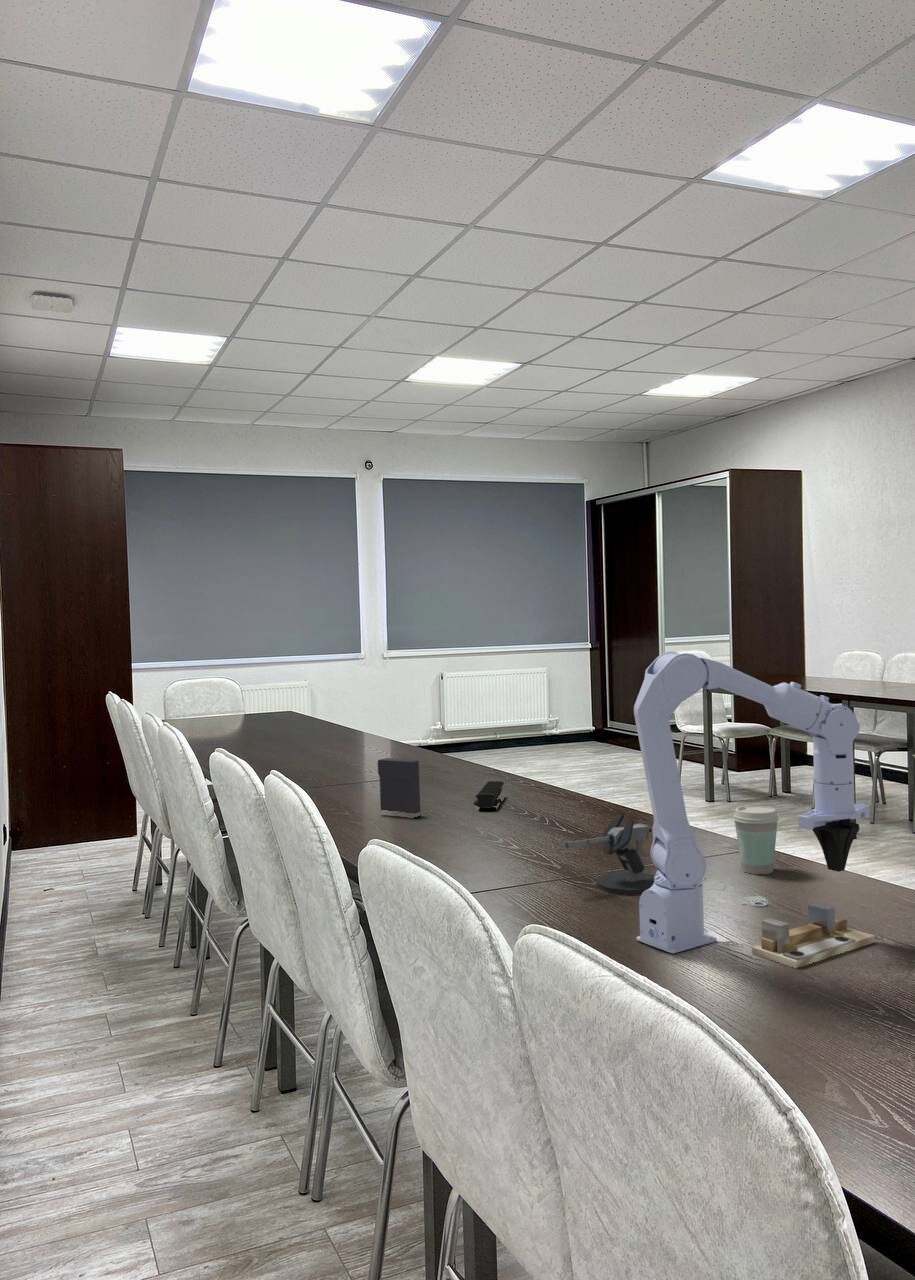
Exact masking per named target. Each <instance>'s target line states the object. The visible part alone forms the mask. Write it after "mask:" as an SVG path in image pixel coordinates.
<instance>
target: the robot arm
mask: <svg viewBox="0 0 915 1280" xmlns="http://www.w3.org/2000/svg"><path fill="white" fill-rule="evenodd" d="M643 679H644V680H643V681H642V685H641V687H640V689H639V693H638V694H637V697H636V700H635V703H634V705H633V716H634V721H635V727H636V731H637V736H638V742H639V748H640V751H641V752H640V753H641V757H642V763H643V768H644V774H645V779H646V783H647V784H646V785H647V788H648V789H647V790H648V795H649V800H650V801H649V802H650V806H651V811H652V816H653V823H654V824H653V823H652V838H653V839H652V843H651V847H650V858H651V860H652V863H653V864H654V866H655V867H656V868H657V870H656V873H655V875H654V876H655V877H654V884H653V885H652V887H651V888H649V889H647V890H645V891H644V892H643V893H642V894H641V895H640V897H639V902H638V906H639V907H638V910H639V911H638V912H639V914H638V916H639V935H638V936H636V941H638V942H639V943H640V942H641V943H644V944H646V945H649V946H651V947H654V948H657V949H659V950H663V951H665V952H668V953H670V954H677V953H680V952H683V951H687V950H691V949H694V948H697V947H702V946H705V945H708V944H711V943H715V942H717V940H718V938H717V937H716V936H714V935H713V936H712V935H710V934H707V933H705V923H704V922H705V921H704V918H705V917H704V916H705V915H704V889H703V886H704V885H703V884H704V883H703V878H704V877H705V874H706V872H707V860H706V858H705V856H704V854H703V853H702V851H701V850H700V849H699V847H698V845H697V842H696V838H695V837H696V836H695V835H694V831H693V830H692V827H691V824H690V823H689V820H688V814H687V810H686V805H685V799H684V798H685V797H684V794H683V788H682V783H681V778H680V772H679V768H678V767H679V766H678V762H677V756H676V752H675V747H674V741H673V736H672V730H671V725H670V717H671V716H672V715H673V713H674V712H675V711H676V710H677V709H678V707H679V706H680V705H681V703H683V702H684V701H686V700H687V699H689V698H692V696H694V695H696V694H697V693H698V692H699V691H701V689H704V690H713V689H719V688H720V689H722V690H725V691H728V692H730V693H733V694H734V695H735V694H736V695H739V696H740V697H743V698H746V699H748V700H751V701H754V702H756V703H759V704H760V705H763V706H764V708H765V710H766V713H767V715H768V716H769V718H772V719H775V720H777V721H779V722H783V723H784V724H787V725H789V726H792V727H794V728H796V729H798V730H800V731H803V732H807V733H809V734H810V736H811V737H812V740H813V741H812V743H813V747H812V748H813V750H812V752H813V756H812V757H813V786H814V787H813V791H814V808H813V809H810V810H809V811H807V812H805V813H803V814H799V815H798V828H799V829H803V830H808V831H812V832H813V833H814V835H815V836H816V839H817V840H818V842H819V845H820V847H821V850H822V852H823V853H822V854H823V856H824V859H825V863H826V867H827V869H828V870H830V871H835V872H844V871H845V869H846V865H847V862H848V861H847V860H848V857H849V853H850V850H851V847H852V843H854V842H853V841H854V840H855V837H856V836H857V834H858V833H859V831H860V824H859V823H857V822H852V820H856V819H860V818H861V819H862V818H863V819H867V818H870V816H871V815H870V812H871V811H870V805H869V804H863V803H855V773H854V772H855V771H854V740H855V738H857V736H858V734H859V732H860V729H861V723H860V722H859V721H858V718H857V716H856V714H855V713H853V710H852V709H850V708H849V707H848V706H846V705H841V704H837V703H836V704H835V703H830V702H829V700H830V697H828V696H825V695H822V694H821V695H819V696H817V695H815V694H813V693H810V692H808V691H806V690H803V689H801V687H802V684H800V683H798V682H794V681H790V683H787V682H780V683H778V684H775V685H773V686H772V685H771V684H768V683H766V682H764V681H761V680H759V679H757V678H755V677H754V676H751V675H748V674H746V673H744V672H742V671H740V670H737V669H735V668H734V667H731V666H729V665H727V664H725V663H723V662H721V661H720V662H719V661H716V660H712V659H710V658H705V657H698V656H697V655H695V654H692V653H688V652H687V653H686V652H683V653H679V652H676V651H666V652H663V653H661V654H659V655H658V656H657V657H656V658H655V659H654V660H653V662H652V663H650V665H648V667H647V668H646V669H645V673H644V678H643Z"/></svg>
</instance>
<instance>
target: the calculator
mask: <svg viewBox="0 0 915 1280" xmlns="http://www.w3.org/2000/svg"><path fill="white" fill-rule="evenodd" d="M419 762H420V761H419V760H418V759H409V758H408V759H407V758H393V757H392V758H389V757H385V758H381V759H378V760H377V773H378V776H379V793H380V794H379V798H380V802H379V803H380V811H381V810H388V811H399V812H406V813H414V814H415V813H418V812H420V813H421V794H420V793H421V789H420V763H419Z"/></svg>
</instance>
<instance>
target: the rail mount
mask: <svg viewBox="0 0 915 1280" xmlns="http://www.w3.org/2000/svg"><path fill="white" fill-rule="evenodd" d="M503 785H504V781H500V780H498V781H497V780H495V781H494V780H493V781H492V780H491V781H487V782H485V784H484V785H483V787H482V788H481V790H479V792H478V793H477V794H476V795H475V798H476V800H474V801H473V806H474V805H476V806H478V807H492V806H497V804H498V803H499V801H500V800H499V799H498V800H497V798H498V796H499V795H500V793H501V791H502V792H503Z"/></svg>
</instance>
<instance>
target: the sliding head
mask: <svg viewBox="0 0 915 1280" xmlns="http://www.w3.org/2000/svg"><path fill="white" fill-rule="evenodd" d="M807 907H808V908H807V909H808V921H809V922H812V923H814V922H816V923H819V924H823V927H824V934H825V935H830V934H833V935H836V936H840V937H843V936H844V933H842V932H839V931H835V916H836V909H835V907H834V906H830V905H828V904H827V905H826V904H822V903H818V902H813V903H810V904H808V905H807Z"/></svg>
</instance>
